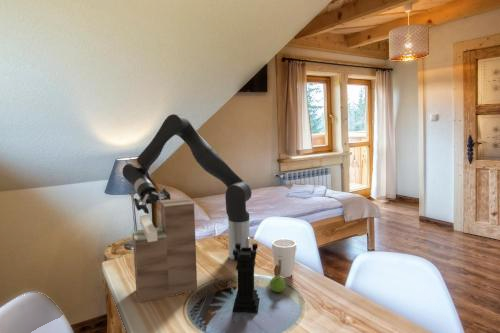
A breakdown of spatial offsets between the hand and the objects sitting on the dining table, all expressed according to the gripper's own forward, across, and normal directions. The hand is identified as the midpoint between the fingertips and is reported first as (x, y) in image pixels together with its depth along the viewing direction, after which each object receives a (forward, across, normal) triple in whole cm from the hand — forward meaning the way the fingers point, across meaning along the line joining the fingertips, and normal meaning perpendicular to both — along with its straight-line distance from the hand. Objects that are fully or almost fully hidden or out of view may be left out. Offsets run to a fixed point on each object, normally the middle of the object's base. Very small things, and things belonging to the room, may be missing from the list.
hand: (158, 208), depth 141 cm
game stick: (+16, -9, -4) cm, 19 cm away
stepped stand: (+27, -9, +16) cm, 32 cm away
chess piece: (+51, +10, +12) cm, 53 cm away
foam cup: (+41, +33, +21) cm, 57 cm away
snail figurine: (+49, +24, +16) cm, 57 cm away
